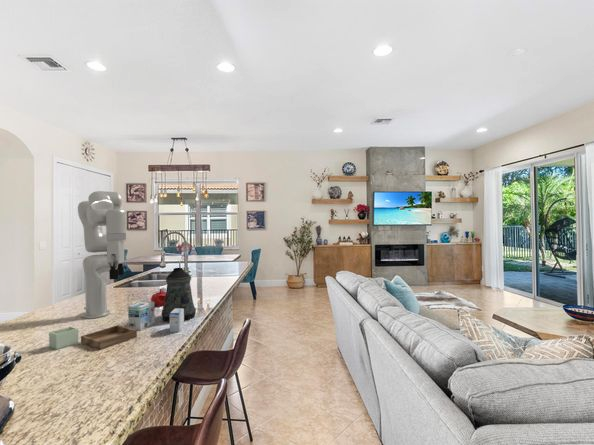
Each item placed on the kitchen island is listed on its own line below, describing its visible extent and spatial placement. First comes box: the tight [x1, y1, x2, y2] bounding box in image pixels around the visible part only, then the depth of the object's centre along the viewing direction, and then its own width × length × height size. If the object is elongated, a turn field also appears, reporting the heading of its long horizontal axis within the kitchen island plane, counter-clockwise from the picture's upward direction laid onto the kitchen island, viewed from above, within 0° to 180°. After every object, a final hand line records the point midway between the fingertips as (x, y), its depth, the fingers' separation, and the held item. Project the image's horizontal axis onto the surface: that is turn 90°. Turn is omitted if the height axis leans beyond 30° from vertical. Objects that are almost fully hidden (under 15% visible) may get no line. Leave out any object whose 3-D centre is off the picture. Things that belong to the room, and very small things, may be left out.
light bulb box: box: [127, 300, 155, 331], centre depth 157 cm, size 11×7×11 cm, turn 168°
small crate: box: [48, 326, 79, 351], centre depth 134 cm, size 6×8×6 cm
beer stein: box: [161, 267, 197, 323], centre depth 171 cm, size 16×19×25 cm
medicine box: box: [169, 308, 185, 333], centre depth 153 cm, size 8×4×9 cm, turn 5°
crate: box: [80, 324, 138, 351], centre depth 140 cm, size 14×16×3 cm
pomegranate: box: [150, 288, 166, 307], centre depth 196 cm, size 10×10×9 cm
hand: (116, 277), depth 145 cm, fingers open, 9 cm apart
